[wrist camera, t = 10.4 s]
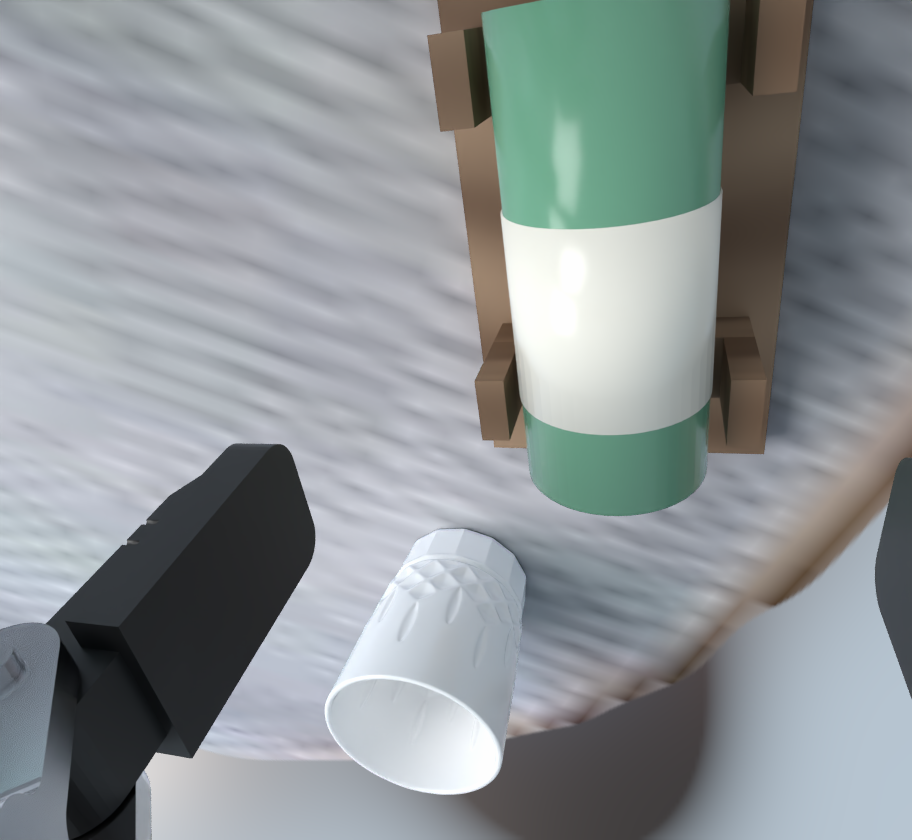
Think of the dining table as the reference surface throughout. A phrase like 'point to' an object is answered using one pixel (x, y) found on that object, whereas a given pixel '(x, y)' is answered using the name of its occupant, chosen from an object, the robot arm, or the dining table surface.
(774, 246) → the bottle rest
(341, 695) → the white cup
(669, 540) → the dining table surface
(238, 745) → the dining table surface
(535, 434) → the green bottle
